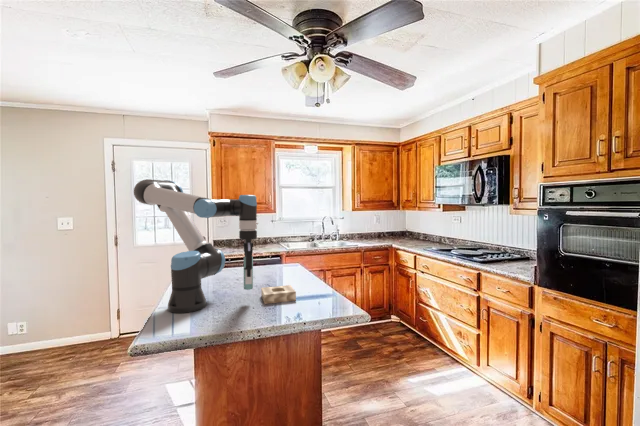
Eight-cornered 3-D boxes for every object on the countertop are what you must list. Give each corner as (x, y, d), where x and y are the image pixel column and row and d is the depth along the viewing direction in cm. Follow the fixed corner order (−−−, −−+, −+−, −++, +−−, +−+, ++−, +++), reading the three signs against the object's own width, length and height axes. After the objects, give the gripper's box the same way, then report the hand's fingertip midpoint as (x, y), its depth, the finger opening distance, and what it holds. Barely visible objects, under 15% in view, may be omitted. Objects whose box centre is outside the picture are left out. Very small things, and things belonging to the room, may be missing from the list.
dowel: (243, 289, 138) (243, 258, 137) (243, 287, 142) (243, 256, 141) (253, 289, 139) (253, 257, 138) (252, 286, 143) (252, 256, 142)
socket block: (264, 303, 138) (264, 294, 138) (261, 296, 150) (261, 287, 150) (295, 300, 142) (295, 291, 142) (290, 293, 154) (290, 285, 154)
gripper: (258, 231, 132) (258, 287, 133) (255, 228, 148) (255, 277, 149) (240, 232, 130) (240, 288, 131) (238, 228, 146) (238, 278, 147)
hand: (248, 282), depth 140 cm, fingers closed on dowel, 4 cm apart
